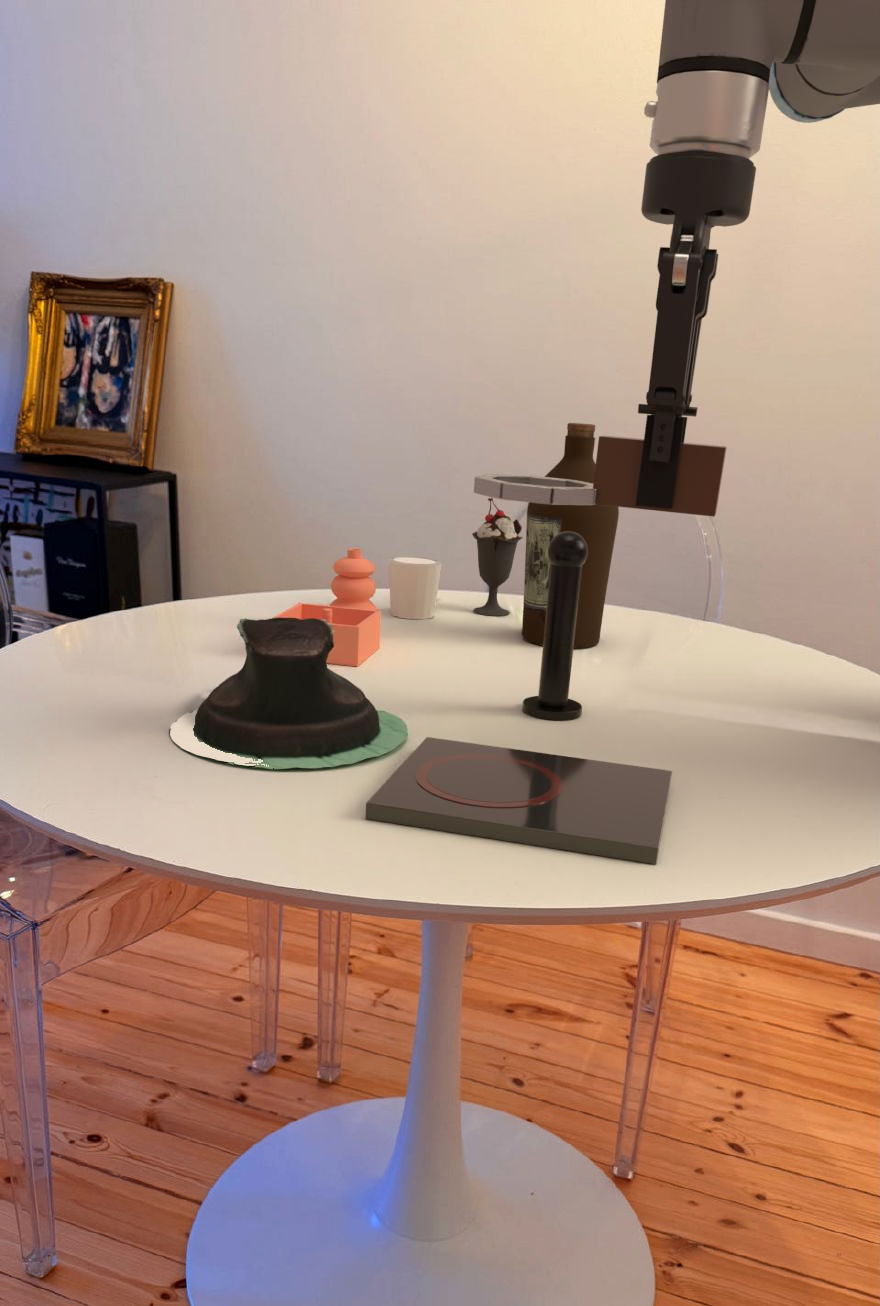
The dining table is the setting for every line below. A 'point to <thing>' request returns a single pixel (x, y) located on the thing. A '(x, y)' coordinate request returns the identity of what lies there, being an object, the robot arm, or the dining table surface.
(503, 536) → the sundae
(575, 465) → the olive oil
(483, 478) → the ring with block handle
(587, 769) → the stove
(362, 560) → the pottery
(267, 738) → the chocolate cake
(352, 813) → the dining table surface
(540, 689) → the black knobbed post
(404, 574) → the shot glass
